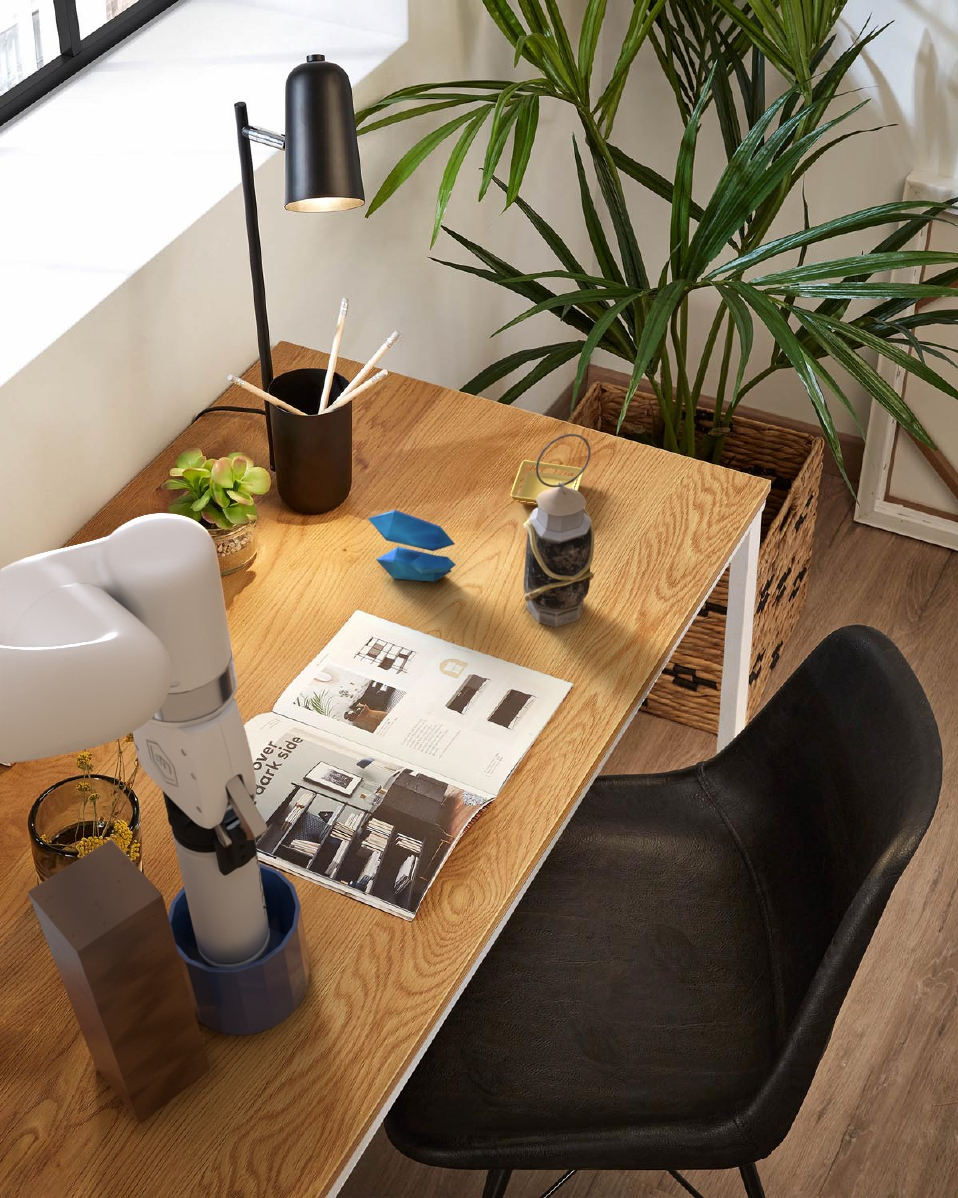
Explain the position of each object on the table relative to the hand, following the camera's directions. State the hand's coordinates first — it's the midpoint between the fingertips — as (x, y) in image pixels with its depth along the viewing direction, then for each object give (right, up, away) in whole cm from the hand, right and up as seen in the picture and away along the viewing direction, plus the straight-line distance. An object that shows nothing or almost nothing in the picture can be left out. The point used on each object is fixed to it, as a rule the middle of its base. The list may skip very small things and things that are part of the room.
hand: (212, 836), depth 101 cm
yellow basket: (+30, +33, +70) cm, 83 cm away
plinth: (-7, -21, +7) cm, 23 cm away
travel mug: (0, -12, +10) cm, 15 cm away
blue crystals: (+13, +22, +58) cm, 63 cm away
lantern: (+31, +18, +52) cm, 63 cm away
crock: (0, -16, +14) cm, 21 cm away
